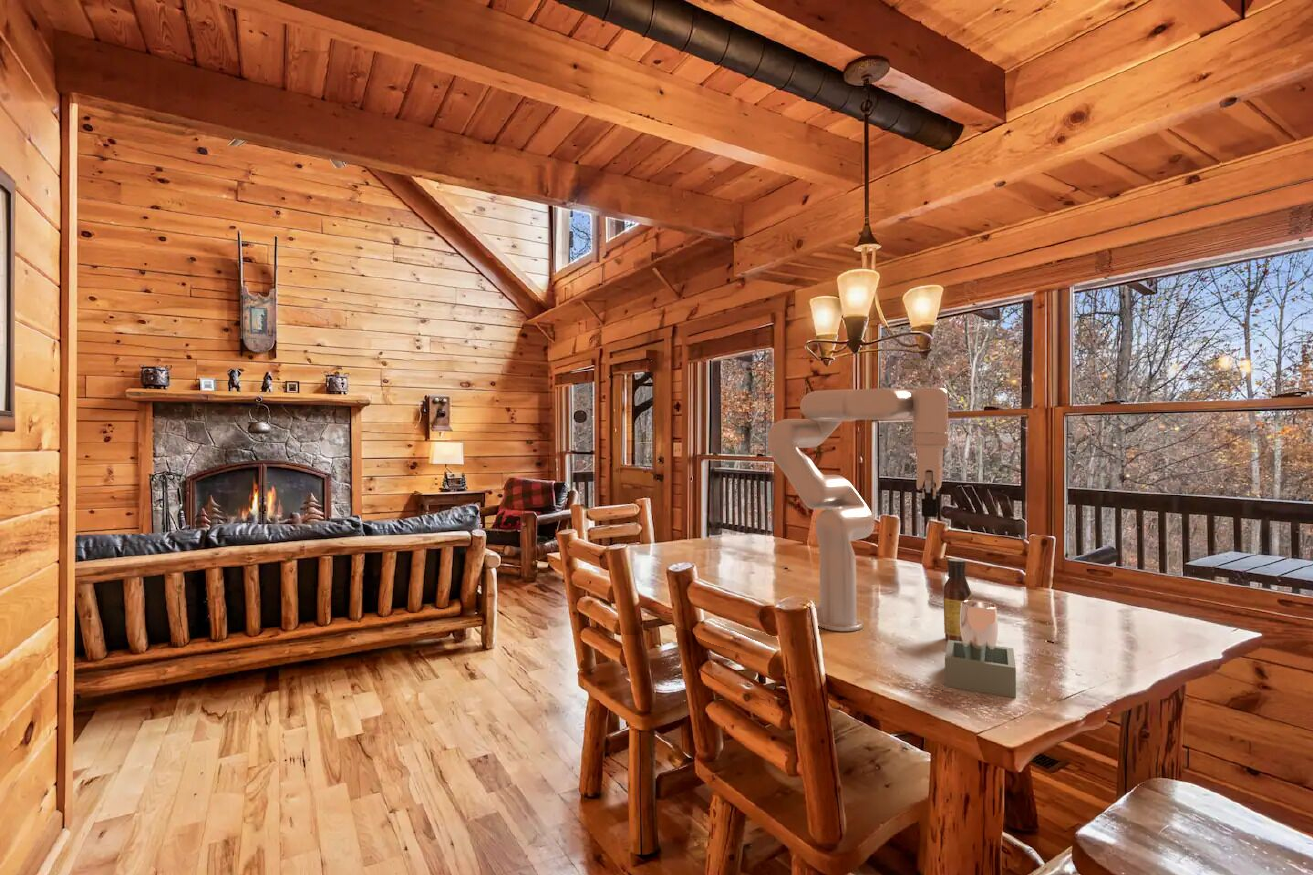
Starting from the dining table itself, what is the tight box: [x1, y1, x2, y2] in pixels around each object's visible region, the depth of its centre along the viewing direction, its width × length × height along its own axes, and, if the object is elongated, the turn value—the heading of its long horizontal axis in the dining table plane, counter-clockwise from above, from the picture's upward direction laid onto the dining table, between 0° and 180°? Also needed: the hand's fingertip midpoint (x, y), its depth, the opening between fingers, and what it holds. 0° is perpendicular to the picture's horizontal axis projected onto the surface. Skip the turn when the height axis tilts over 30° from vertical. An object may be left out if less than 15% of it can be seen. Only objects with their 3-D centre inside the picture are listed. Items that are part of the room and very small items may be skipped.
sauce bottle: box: [943, 558, 972, 642], centre depth 154 cm, size 6×6×20 cm
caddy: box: [944, 640, 1017, 699], centre depth 128 cm, size 12×12×6 cm
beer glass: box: [960, 599, 999, 663], centre depth 129 cm, size 7×7×15 cm
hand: (931, 514), depth 145 cm, fingers open, 9 cm apart
